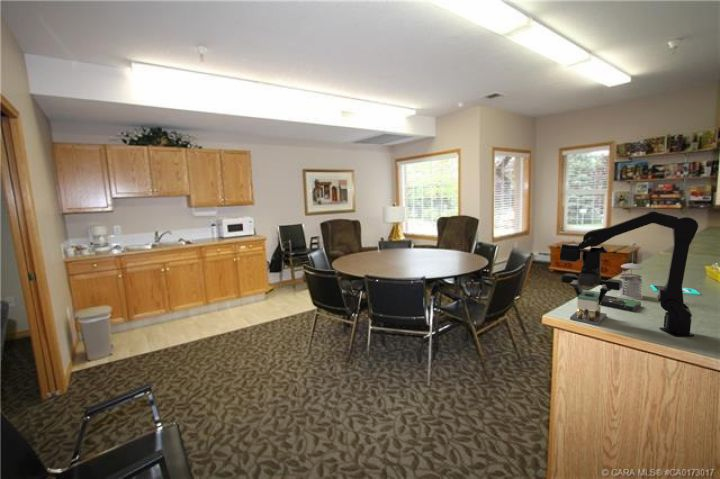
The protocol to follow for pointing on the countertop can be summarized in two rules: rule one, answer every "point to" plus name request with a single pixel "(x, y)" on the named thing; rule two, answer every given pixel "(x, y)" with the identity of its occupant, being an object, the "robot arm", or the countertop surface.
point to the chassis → (589, 316)
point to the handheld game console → (685, 290)
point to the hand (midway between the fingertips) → (589, 302)
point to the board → (588, 300)
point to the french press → (631, 281)
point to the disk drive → (620, 303)
